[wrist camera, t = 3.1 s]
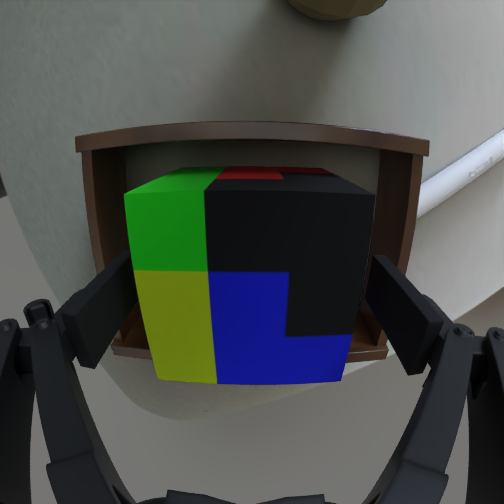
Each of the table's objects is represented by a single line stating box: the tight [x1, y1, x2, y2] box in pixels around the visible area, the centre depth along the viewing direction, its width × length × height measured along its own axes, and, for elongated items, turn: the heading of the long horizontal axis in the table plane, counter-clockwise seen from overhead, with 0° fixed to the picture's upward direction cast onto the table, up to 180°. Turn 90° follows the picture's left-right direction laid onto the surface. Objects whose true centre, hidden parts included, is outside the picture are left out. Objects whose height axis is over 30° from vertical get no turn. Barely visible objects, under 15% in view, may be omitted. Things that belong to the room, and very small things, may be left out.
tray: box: [75, 121, 430, 363], centre depth 19 cm, size 21×16×6 cm
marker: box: [416, 129, 504, 219], centre depth 18 cm, size 18×2×2 cm, turn 123°
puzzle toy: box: [124, 166, 375, 385], centre depth 17 cm, size 10×10×10 cm
